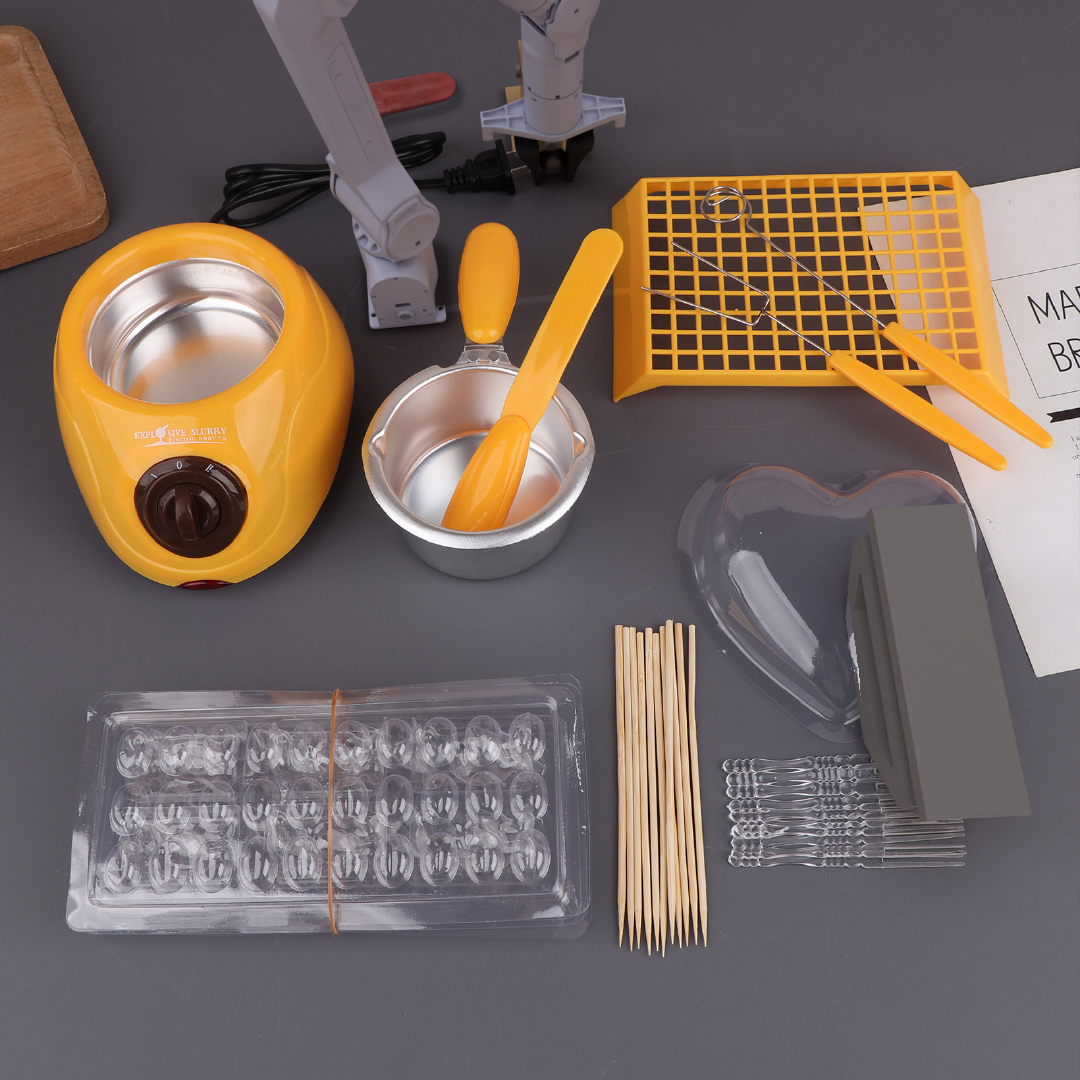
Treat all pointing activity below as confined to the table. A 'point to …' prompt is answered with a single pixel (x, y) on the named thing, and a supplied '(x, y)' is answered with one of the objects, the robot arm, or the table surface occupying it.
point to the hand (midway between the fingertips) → (553, 176)
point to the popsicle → (411, 92)
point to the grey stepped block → (931, 667)
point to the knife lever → (552, 158)
